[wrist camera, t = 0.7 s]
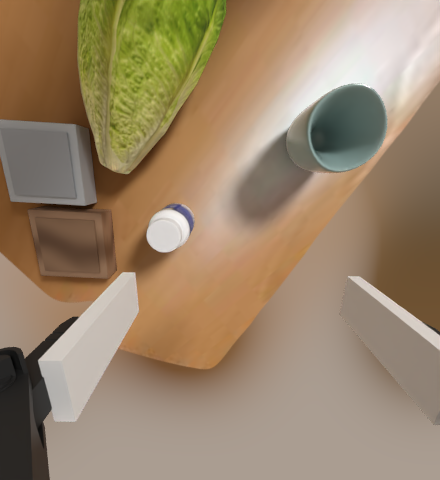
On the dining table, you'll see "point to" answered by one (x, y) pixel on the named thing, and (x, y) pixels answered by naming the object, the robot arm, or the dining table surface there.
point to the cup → (338, 130)
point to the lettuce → (140, 69)
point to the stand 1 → (47, 162)
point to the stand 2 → (73, 241)
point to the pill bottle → (170, 227)
